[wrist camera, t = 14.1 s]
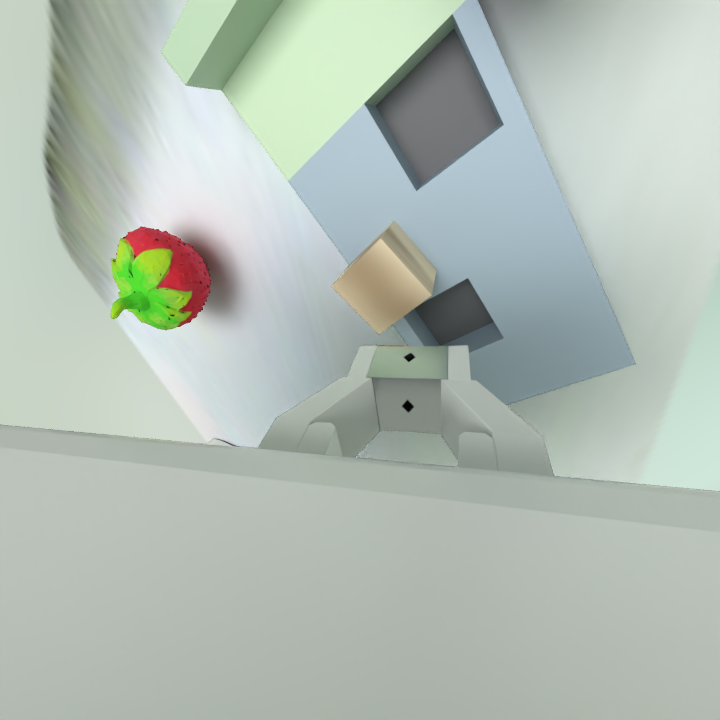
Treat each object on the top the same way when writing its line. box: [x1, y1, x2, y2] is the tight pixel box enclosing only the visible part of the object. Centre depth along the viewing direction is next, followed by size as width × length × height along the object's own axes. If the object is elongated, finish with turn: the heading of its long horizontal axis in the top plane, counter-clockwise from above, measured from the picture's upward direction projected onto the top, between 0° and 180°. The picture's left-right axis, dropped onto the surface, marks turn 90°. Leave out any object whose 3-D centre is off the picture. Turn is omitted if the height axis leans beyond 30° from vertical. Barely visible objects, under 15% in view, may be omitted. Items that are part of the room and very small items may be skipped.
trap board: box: [161, 0, 636, 405], centre depth 19 cm, size 12×28×6 cm, turn 38°
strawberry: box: [111, 227, 211, 330], centre depth 24 cm, size 6×7×10 cm
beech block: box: [332, 221, 437, 335], centre depth 20 cm, size 4×4×4 cm
